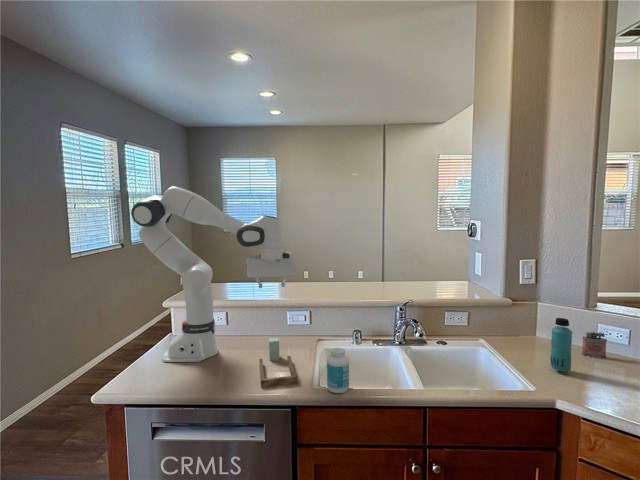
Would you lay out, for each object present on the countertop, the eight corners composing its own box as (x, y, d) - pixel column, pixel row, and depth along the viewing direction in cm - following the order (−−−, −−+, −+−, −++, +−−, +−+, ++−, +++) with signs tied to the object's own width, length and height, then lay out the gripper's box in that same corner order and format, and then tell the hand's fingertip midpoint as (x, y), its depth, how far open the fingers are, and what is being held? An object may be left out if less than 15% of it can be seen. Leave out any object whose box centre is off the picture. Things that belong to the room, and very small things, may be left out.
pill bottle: (347, 395, 117) (347, 355, 116) (325, 393, 119) (324, 353, 118) (350, 384, 124) (350, 346, 123) (329, 382, 126) (328, 345, 125)
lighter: (583, 356, 145) (584, 332, 145) (580, 353, 148) (581, 329, 148) (607, 359, 142) (608, 334, 142) (604, 356, 145) (605, 332, 145)
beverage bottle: (567, 369, 134) (569, 316, 132) (573, 377, 127) (576, 322, 126) (547, 367, 136) (549, 315, 134) (552, 374, 130) (554, 320, 128)
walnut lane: (261, 387, 123) (260, 380, 123) (259, 364, 142) (259, 358, 142) (296, 383, 126) (296, 376, 125) (290, 361, 144) (290, 355, 144)
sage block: (269, 360, 146) (269, 341, 145) (269, 357, 150) (268, 338, 149) (279, 359, 147) (279, 340, 146) (278, 356, 150) (278, 337, 150)
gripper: (245, 256, 144) (246, 290, 145) (296, 254, 148) (296, 287, 149) (245, 254, 150) (246, 287, 151) (294, 252, 154) (294, 284, 155)
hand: (271, 287), depth 150 cm, fingers open, 8 cm apart
